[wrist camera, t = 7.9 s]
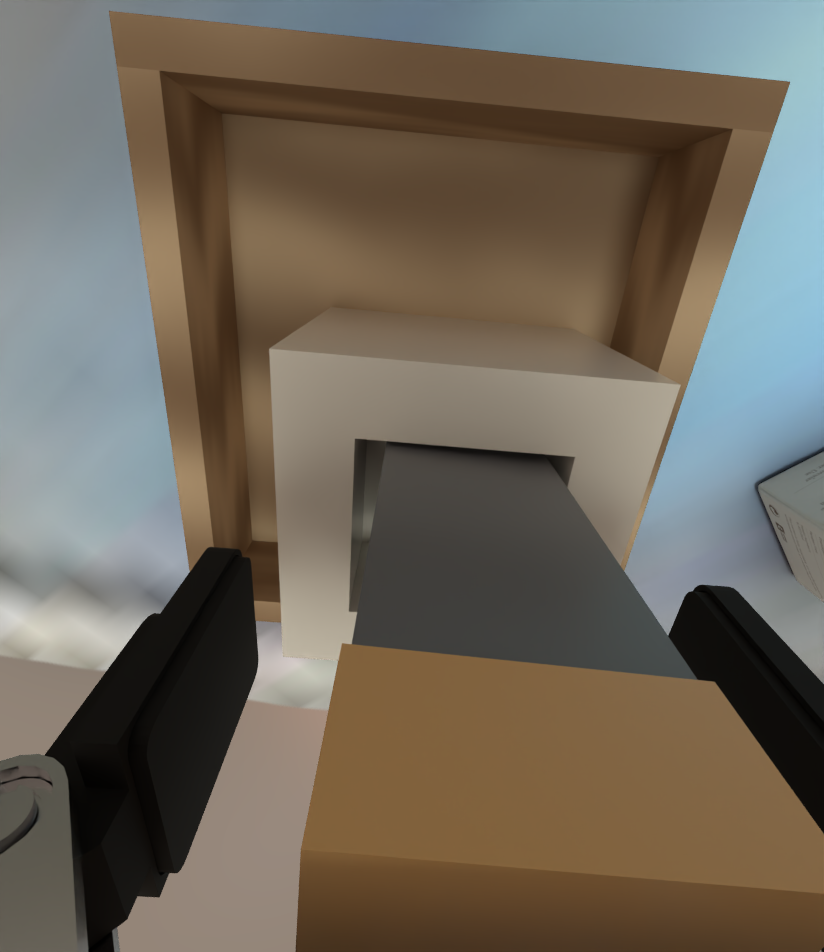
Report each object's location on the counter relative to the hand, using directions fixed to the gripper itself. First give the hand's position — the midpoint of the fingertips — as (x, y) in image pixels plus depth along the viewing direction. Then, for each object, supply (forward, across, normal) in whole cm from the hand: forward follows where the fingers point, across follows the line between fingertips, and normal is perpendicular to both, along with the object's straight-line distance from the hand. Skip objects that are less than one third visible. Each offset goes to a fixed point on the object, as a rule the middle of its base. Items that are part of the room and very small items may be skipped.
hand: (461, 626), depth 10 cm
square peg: (+6, 0, 0) cm, 6 cm away
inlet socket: (+11, 0, 0) cm, 11 cm away
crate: (+12, +1, -2) cm, 12 cm away
